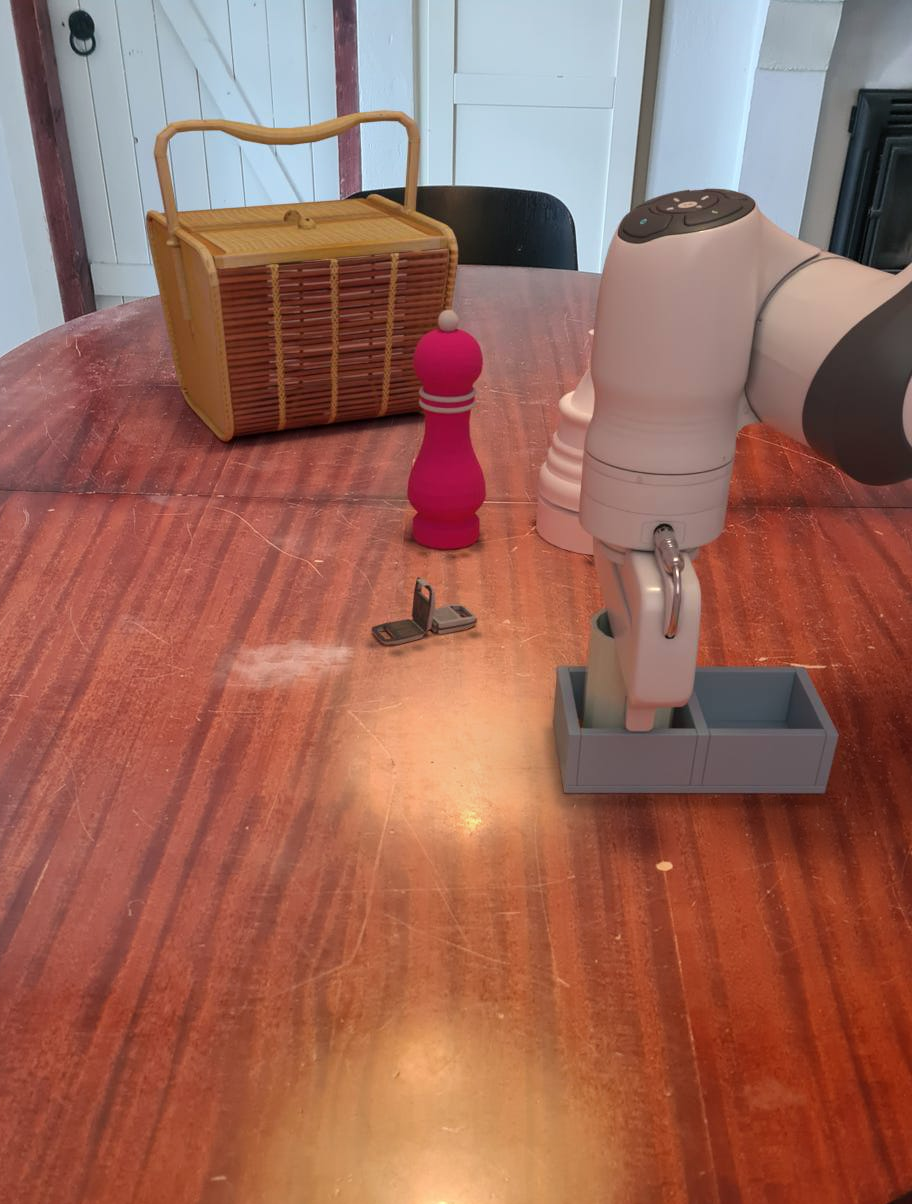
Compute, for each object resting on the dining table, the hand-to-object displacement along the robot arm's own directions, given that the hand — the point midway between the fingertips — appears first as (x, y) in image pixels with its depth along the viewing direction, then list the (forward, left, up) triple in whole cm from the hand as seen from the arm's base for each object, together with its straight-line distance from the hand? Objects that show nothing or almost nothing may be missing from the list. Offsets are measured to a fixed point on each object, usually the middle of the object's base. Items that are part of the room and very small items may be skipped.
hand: (629, 696), depth 83 cm
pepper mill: (+12, -38, -5) cm, 40 cm away
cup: (0, 0, -4) cm, 4 cm away
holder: (-4, 0, -5) cm, 6 cm away
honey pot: (-3, -40, -5) cm, 40 cm away
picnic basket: (+28, -75, -5) cm, 80 cm away
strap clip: (+14, -19, -5) cm, 24 cm away
